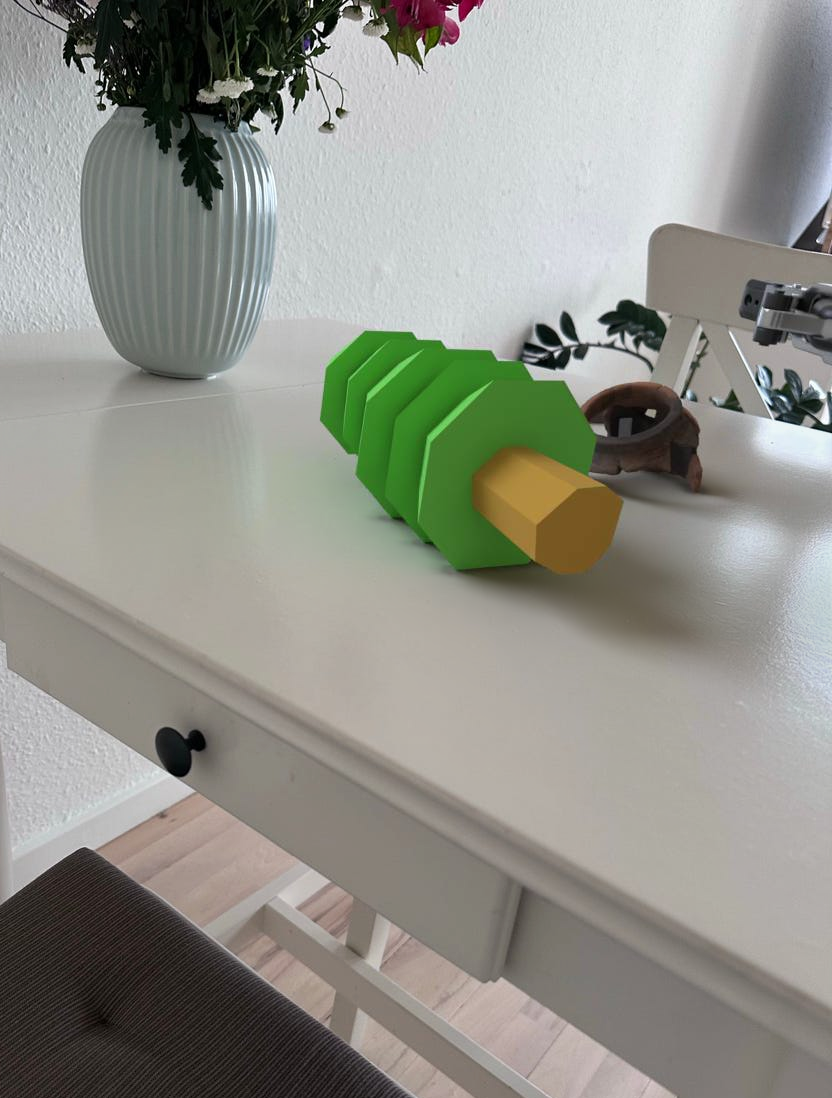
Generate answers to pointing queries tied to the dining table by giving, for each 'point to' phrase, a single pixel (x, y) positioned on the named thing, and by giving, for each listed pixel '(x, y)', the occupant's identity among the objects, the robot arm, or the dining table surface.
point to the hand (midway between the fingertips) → (753, 298)
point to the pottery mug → (645, 432)
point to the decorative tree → (471, 452)
